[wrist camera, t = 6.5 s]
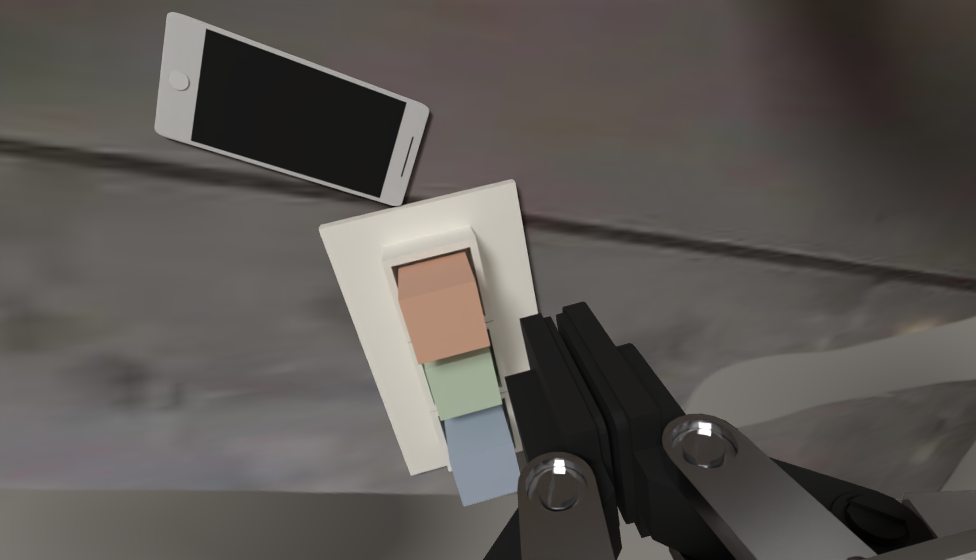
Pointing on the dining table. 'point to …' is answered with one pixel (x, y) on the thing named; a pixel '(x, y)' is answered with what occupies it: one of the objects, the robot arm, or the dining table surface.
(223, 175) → the dining table surface
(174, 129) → the smartphone
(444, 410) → the sage button
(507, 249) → the board
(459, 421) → the slate button
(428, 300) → the terracotta button
